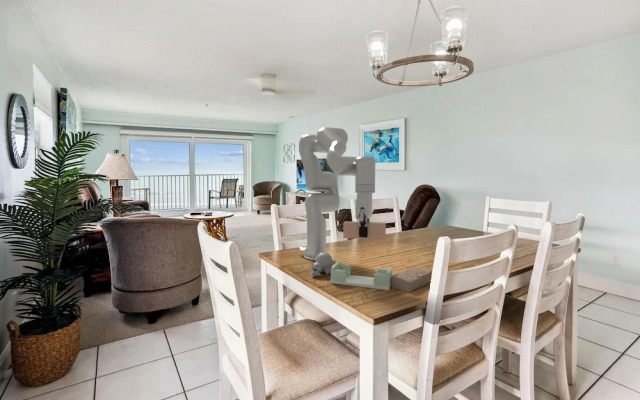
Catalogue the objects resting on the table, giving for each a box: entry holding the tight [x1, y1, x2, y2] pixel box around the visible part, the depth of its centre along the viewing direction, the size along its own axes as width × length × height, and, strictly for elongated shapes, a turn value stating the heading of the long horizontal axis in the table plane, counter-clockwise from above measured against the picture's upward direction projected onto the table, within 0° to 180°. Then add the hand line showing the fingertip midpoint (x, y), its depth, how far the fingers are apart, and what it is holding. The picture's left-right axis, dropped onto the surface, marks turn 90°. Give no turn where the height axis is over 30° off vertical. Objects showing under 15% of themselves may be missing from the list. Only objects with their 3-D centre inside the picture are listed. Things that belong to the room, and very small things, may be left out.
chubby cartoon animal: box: [310, 252, 335, 278], centre depth 136 cm, size 7×12×8 cm, turn 137°
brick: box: [390, 266, 433, 293], centre depth 125 cm, size 17×8×5 cm, turn 134°
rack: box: [330, 261, 393, 291], centre depth 126 cm, size 22×9×6 cm, turn 70°
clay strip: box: [342, 220, 387, 241], centre depth 128 cm, size 16×4×6 cm, turn 79°
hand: (364, 235), depth 128 cm, fingers closed on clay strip, 4 cm apart
